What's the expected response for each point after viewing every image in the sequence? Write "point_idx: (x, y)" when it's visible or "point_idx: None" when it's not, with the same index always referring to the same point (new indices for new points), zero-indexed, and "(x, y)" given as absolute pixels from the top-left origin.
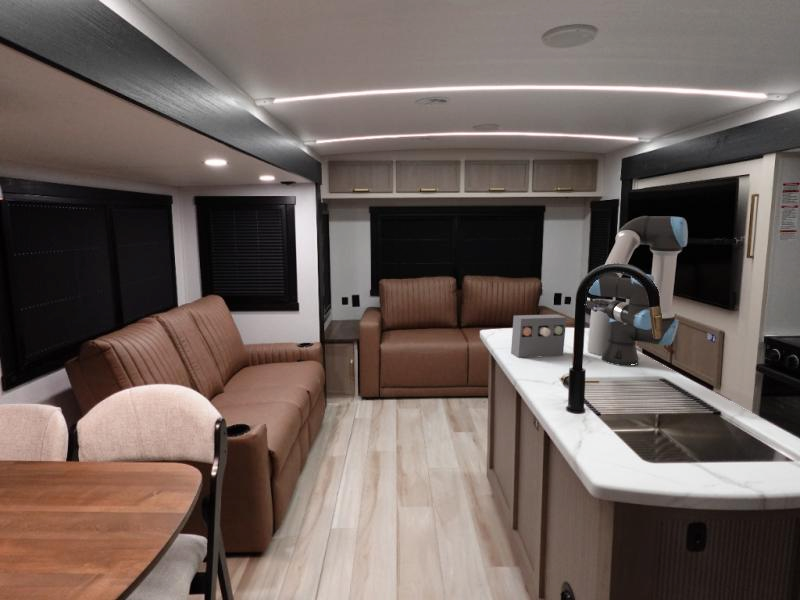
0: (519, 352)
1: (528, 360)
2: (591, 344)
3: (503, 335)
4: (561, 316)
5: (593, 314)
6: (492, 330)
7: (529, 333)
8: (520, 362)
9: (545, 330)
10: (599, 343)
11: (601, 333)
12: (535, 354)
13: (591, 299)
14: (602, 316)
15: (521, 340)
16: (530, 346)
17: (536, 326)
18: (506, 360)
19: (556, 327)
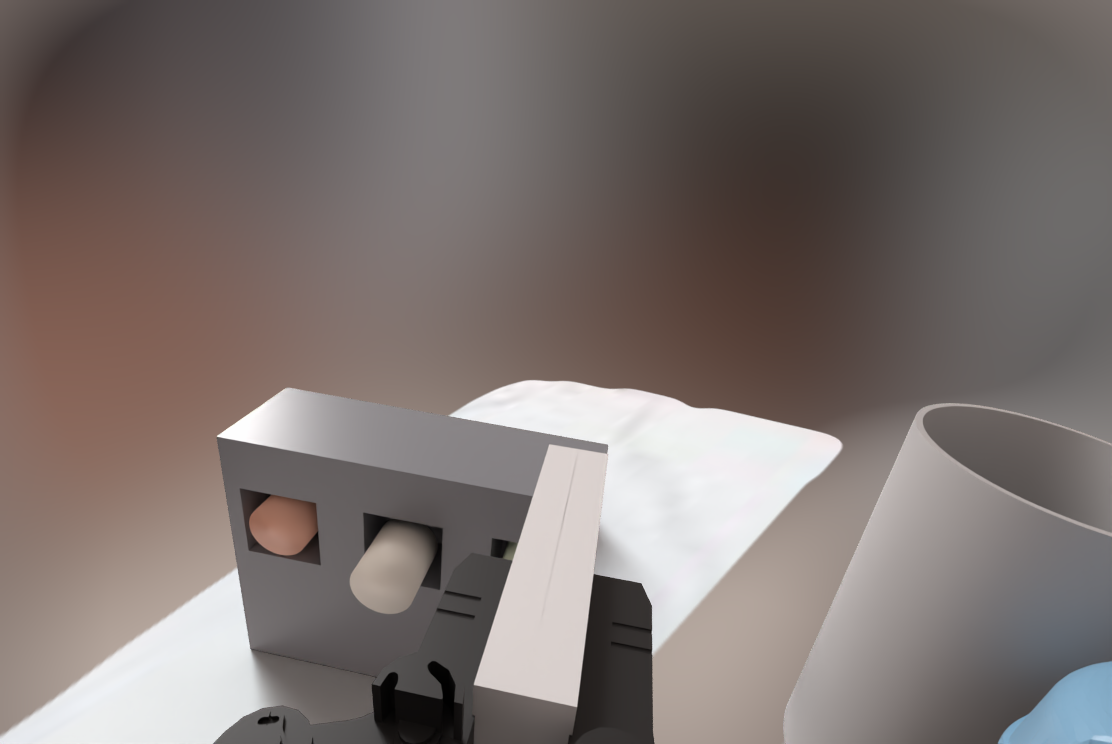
0: (250, 625)
1: (240, 717)
2: (804, 717)
3: (530, 419)
4: None
5: (880, 537)
6: (540, 384)
7: (292, 544)
8: (139, 732)
9: (369, 573)
10: None
11: (895, 721)
12: (361, 663)
13: (415, 706)
14: (952, 607)
15: (250, 567)
16: (319, 615)
17: (347, 512)
18: (123, 661)
19: (510, 556)
